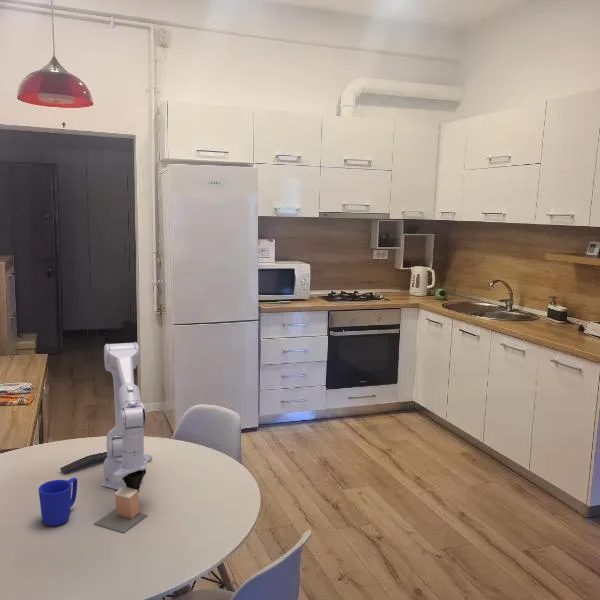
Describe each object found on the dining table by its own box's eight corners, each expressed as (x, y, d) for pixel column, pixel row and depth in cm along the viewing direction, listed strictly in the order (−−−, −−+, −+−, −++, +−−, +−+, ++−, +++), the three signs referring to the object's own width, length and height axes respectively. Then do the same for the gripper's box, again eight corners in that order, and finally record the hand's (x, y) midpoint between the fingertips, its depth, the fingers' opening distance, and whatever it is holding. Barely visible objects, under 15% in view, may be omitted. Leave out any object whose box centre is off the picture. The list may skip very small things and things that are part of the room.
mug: (88, 510, 164) (87, 476, 163) (57, 531, 153) (56, 496, 151) (64, 504, 167) (63, 471, 165) (32, 525, 156) (31, 490, 154)
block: (117, 515, 162) (114, 493, 160) (125, 507, 165) (122, 486, 163) (132, 519, 160) (129, 497, 158) (140, 511, 163) (137, 490, 161)
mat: (93, 524, 157) (93, 523, 157) (118, 507, 166) (118, 506, 166) (123, 533, 153) (123, 532, 153) (147, 515, 162) (147, 514, 162)
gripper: (127, 461, 154) (127, 510, 156) (160, 442, 167) (160, 487, 169) (106, 456, 156) (106, 504, 158) (140, 438, 170) (140, 482, 171)
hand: (133, 495), depth 164 cm, fingers closed
